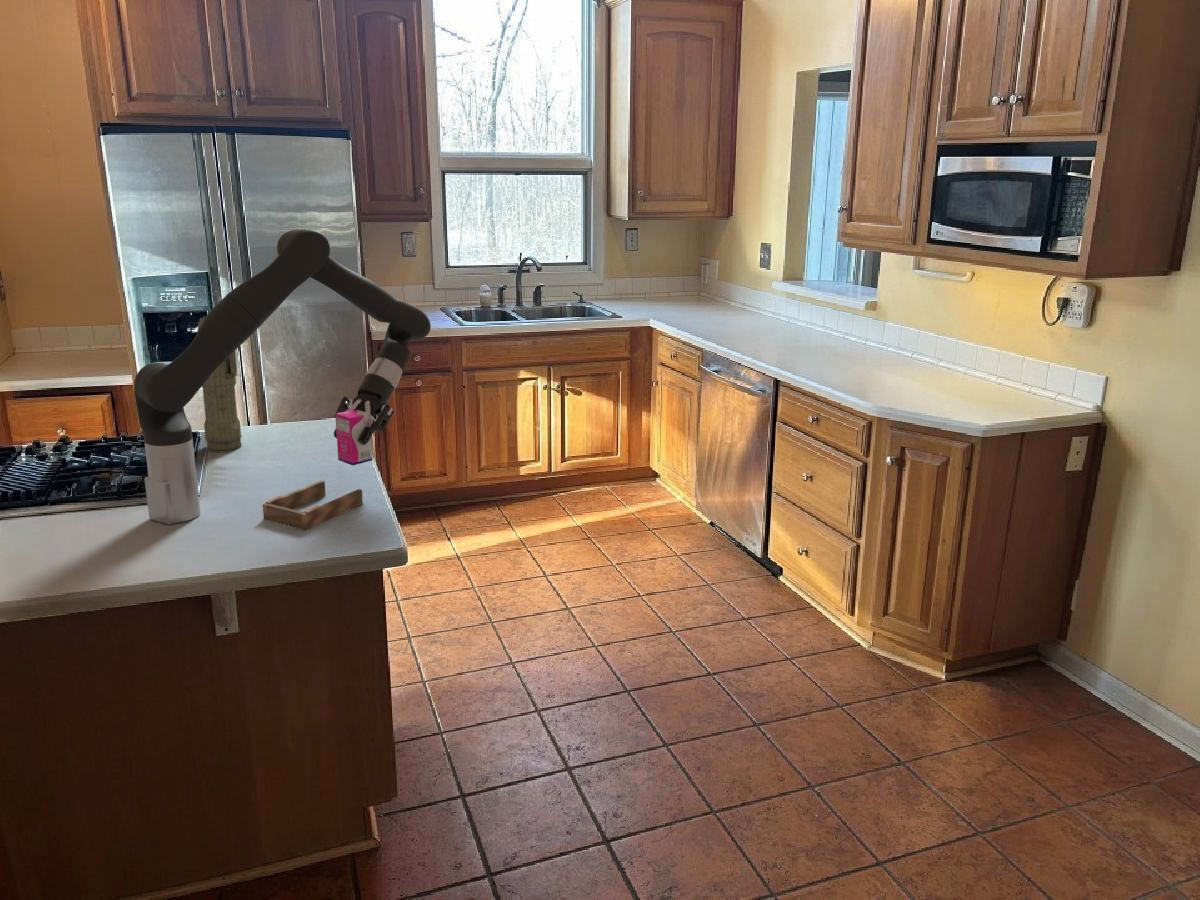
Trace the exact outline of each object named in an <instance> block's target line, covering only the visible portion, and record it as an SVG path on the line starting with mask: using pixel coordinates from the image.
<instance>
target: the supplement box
mask: <svg viewBox="0 0 1200 900" xmlns="http://www.w3.org/2000/svg"><path fill="white" fill-rule="evenodd" d="M369 414H370V413H366V412H363V411H359V410H350V411H345V412H341V413H336V412H335V414H334V416H335V417H334V418H335V429H336V433H337V439H336V446H337V460H338V461H340V462H343V463H345V464H348V465H350V466H356V465H361V464H363V463H367V462H370V461H373V447H372V446H373V445H372V444H373V443H372V437H371V438H370V440H369V442H368V443H366V445H362V444H361V443H360V442H359V441H358V439H359V437H360V435H361V434H362V432H363V430H364V428H365V427H367V421H368V416H369Z"/></svg>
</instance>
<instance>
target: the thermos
mask: <svg viewBox="0 0 1200 900" xmlns="http://www.w3.org/2000/svg"><path fill="white" fill-rule="evenodd" d="M206 316H207V315H206ZM206 316H203V317H202V318H201V317H200V318H199V321H198V326H197V332H198V331H199V329H200V327H201V325H202V323H203V321H204V319H205V318H206ZM237 368H238V365H237V354H236V350H235V351H234V352H233V353H232V354H231V355H230V356H229V357H228V358H227V359H226V360H225V361H224V362H223V363H222V364H221V365H220V366H219V367H218V368H217V369H216V370H215V371H214V372H213V373H212V374H211V376H210V377H209V378H208V379H207V380H206V382H205V383H204V384H203V385H202V387H201V388H202V395H203V396H202V398H203V405H204V415H205V420H204V424H203V425H204V426H203V428H204V438H205V441H206V449H207V448H208V449H207V451H209V452H216V453H225V452H232V451H236V450H239V449H241V448H242V439H241V438H242V429H241V421H240V419H239V417H238V408H237V407H238V406H237V396H236V388H235V387H236V385H237V376H238V374H237V373H238V369H237Z"/></svg>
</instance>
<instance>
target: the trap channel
mask: <svg viewBox="0 0 1200 900" xmlns="http://www.w3.org/2000/svg"><path fill="white" fill-rule="evenodd" d="M325 482H326V481H324V480H319V481H317V482H314V483H312V484H309V485H307V486H305V487H301V488H300V489H296V490H294V491H292V492H290V493H287V494H284V495H282V496H281V495H279V496H276V497H273V498H271V499H268V500H266V501H265V502H264V503H263V504H262V515H263V520H265V521H269V522H272V523H276V522H277V524H280V523H281V525H284V524H285V525H284V526H288V525H289V527H291V526H292V528H295V527H296V529H299V528H300V530H303V529H304V530H303V531H308V530H310V529H312V528H315V527H316V525H317V526H319V525H321V524H323V523H325V522H327V521H330V520H331V518H332V519H334V518H336V517H338V516H340V515H343V514H344V512H345V513H347V512H349V511H351V510H353V509H355V507H356V508H358V507H360V506H362V505H364V503H363V500H364V499H363V489H360V488H358V489H355V490H354V491H353V490H352V491H351V492H349V493H346V494H344V495H342V496H340V497H338V498H334V499H333V500H330V501H328V502H325V503H323V504H320V505H316V506H314V507H311V508H309V509H306V510H304V511H301V510H296V509H297V508H299V507H301V506H304V505H306V504H308V503H310V502H313V501H316V500H318V499H320V498H323V497H325V496H326V483H325ZM361 504H362V505H361ZM359 505H360V506H359ZM357 506H358V507H357ZM352 508H353V509H352ZM350 509H351V510H350ZM348 510H349V511H348ZM346 511H347V512H346ZM342 513H343V514H342ZM333 517H334V518H333ZM329 519H330V520H329ZM320 523H321V524H320ZM318 524H319V525H318ZM311 527H312V528H311ZM309 528H310V529H309ZM307 529H308V530H307Z"/></svg>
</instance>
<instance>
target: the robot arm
mask: <svg viewBox="0 0 1200 900" xmlns="http://www.w3.org/2000/svg"><path fill="white" fill-rule="evenodd" d="M276 251H277V257H275V259H274V260H273V261H272V262H271V263H270V264H269V265H268V266H267V267H265V269H263V270H262V271H259V273H257V274H255V275H253V276H251V277H250V278H247V280H245V281H243V282H242V283H240V284H239V285H238V286H235V287H234V288H233V289H232V290H230V292H228V293H227V294H226V295H225V296H224V297H222V299H221V300H220V301H219V302H217V304H216V305H215V306H213V307H212V308H211V310H210V311H209V312H208V313H207V315H206V318H205V319H204V321H203V323H202V325H201V327H200V329H199V331H198V330H197V333H196V335H195V337H194V338H193V340H192V341H191V343H190V344H189V345H188V347H186V349H184V351H182V353H179V355H178V356H177V357H176V358H174V359H173V361H171V362H170V363H169V364H167V363H163V362H151V363H149V364H145V365H144V366H143V367H141V368H140V369H139V371H137V373H136V376H135V378H134V382H133V392H134V400H135V406H136V413H137V419H138V424H139V427H140V429H141V432H142V434H143V435H142V436H143V441H144V448H145V450H144V451H145V457H146V467H147V475H148V476H145V477H144V485H145V486H144V487H145V493H146V494H145V495H146V502H147V503H146V505H147V511H148V518H149V520H152V521H155V522H159V523H162V524H165V525H171V524H177V523H184V522H188V521H190V520H194V519H195V518H197V517H198V516H200V514H201V507H200V506H201V505H200V499H199V488H198V479H197V471H196V470H197V468H196V459H195V449H194V439H193V430H192V426H191V423H190V422H189V420H188V418H187V416H186V412H185V408H184V407H185V406H186V405H188V403H190V402H191V401H192V399H193V398H194V397H195V395H196V394H198V392H199V391H200V390H201V388H202V385H203V384H204V383H205V382H206V380H207V379H208V378H209V377H210V376H211V374H212V373H213V372H214V371H215V370H216V369H217V368H218V367H219V366H220V365H221V364H222V363H223V362H224V361H225V360H226V359H227V358H228V357H229V356H230V355H231V354H232V353H233V352H234V351H235V352H236V350H238V348H239V347H241V345H243V344H244V343H246V341H247V340H248V339H249V338H250V337H251V336H252V335H253V334H254V333H255V332H256V331H257V330H258V329H259V328H260V327H262V325H263V324H264V323H265V322H266V320H267V319H268V318H270V317H271V316H272V314H273V313H274V312H276V310H277V309H278V308H279V307H280V306H281V305H282V304H283V302H284V301H285V300H286V299H287V298H288V297H289V296H290V295H291V294H292V293H293V292H295V290H296V289H297V288H298V287H300V286H301V285H302V284H304V283H305V282H306V281H307V280H308V279H310V278H311V279H312V280H315V281H316V282H318V283H321V284H322V285H324V286H325V287H327V288H328V289H330V290H332V291H333V292H335V293H336V294H337V295H339V296H341V297H343V299H345V300H347V301H348V302H349V303H351V304H352V305H354V306H355V307H357V308H358V309H360V311H362V312H364V313H365V314H367V315H368V316H370V317H371V318H372V319H374V320H375V321H377V322H379V323H388V325H387V329H386V332H385V337H384V339H383V340H384V341H383V344H382V346H381V348H380V350H379V352H378V353H377V355H376V357H375V360H374V361H373V362H372V364H371V365H370V367H369V368H368V370H367V372H366V373H365V376H364V377H363V379H362V381H361V383H360V384H359V386H358V388H357V395H356V396H355V397H353V399H352V398H348V397H347V396H343V397H342V399H341V401H340V403H339V405H338V408H337V409H336V412H335V414H336V413H341V412H345V411H350V410H359V411H363V412H366V413H370V414H369V416H368V421H367V427H365V428H364V430H363V432H362V434H361V435H360V437H359V439H358V441H359V442H360V443H361V444H362V445H366V443H368V442H369V440H370V438H371V439H372V436H373V434H374V433H375V432H377V431H379V432H383V431H384V429H385V428H386V426H387V424H388V423H389V421H390V419H391V418H392V416H393V414H394V413H395V411H394V409H393V408H392V407H391V406H390V405H389V401H390V400H391V397H392V396H393V394H394V393H395V390H396V388H397V386H398V384H399V382H400V380H401V377H402V374H403V373H404V370H405V369H406V366H407V364H408V363H409V361H410V359H411V351H410V349H409V345H410V343H411V342H412V341H418V340H422V339H424V338H426V337H427V336H428V335H429V333H430V331H431V329H432V328H431V322H430V319H429V317H428V316H427V315H426V313H425V312H423V310H421V309H420V308H418V307H416V306H414V305H412V304H410V303H408V302H406V301H403V300H401V299H399V298H397V297H394V296H393V295H392V294H390V293H389V292H388V291H386V290H385V289H384V288H382V287H381V286H379V285H378V284H376V283H375V282H374V281H372V280H370V279H369V278H367V277H365V276H363V275H361V274H359V273H357V272H355V271H353V270H351V269H349V268H348V267H346V266H344V265H343V264H341V263H340V262H338V261H336V260H335V259H334V258H333V257H331V256H330V253H331V245H330V242H329V240H328V238H327V237H326V236H325V235H324V234H323V233H321V232H320V231H317V230H315V229H310V228H300V229H299V228H297V229H292V230H291V229H290V230H288V231H286V232H284V233H283V234H281V236H279V238H278V241H277V245H276ZM333 418H335V415H334V417H333ZM333 436H334V438H335V439H336V440H337V433H336V428H335V430H334V431H333Z"/></svg>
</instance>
